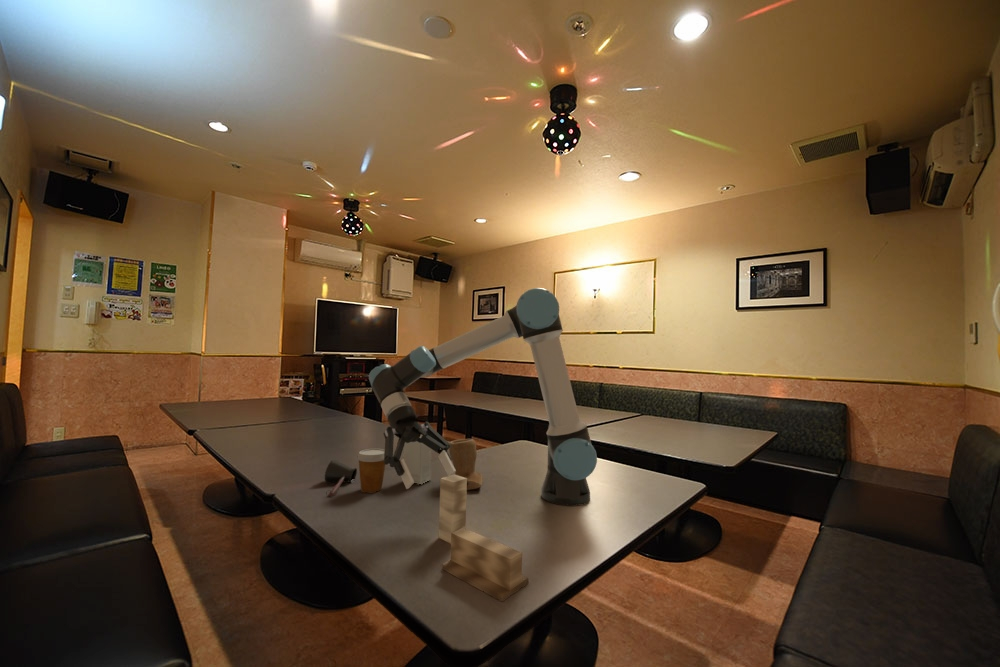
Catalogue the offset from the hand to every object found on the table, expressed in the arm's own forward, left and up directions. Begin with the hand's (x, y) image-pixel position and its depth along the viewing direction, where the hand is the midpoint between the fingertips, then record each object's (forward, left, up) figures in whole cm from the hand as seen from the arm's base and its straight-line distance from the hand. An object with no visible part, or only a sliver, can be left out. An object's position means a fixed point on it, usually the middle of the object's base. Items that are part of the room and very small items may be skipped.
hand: (432, 479), depth 101 cm
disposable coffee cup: (+25, -27, -12) cm, 39 cm away
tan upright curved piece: (-4, -36, -13) cm, 38 cm away
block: (-6, +4, -12) cm, 14 cm away
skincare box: (+13, -37, -12) cm, 41 cm away
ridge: (-15, +20, -12) cm, 28 cm away
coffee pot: (+38, -28, -13) cm, 49 cm away
